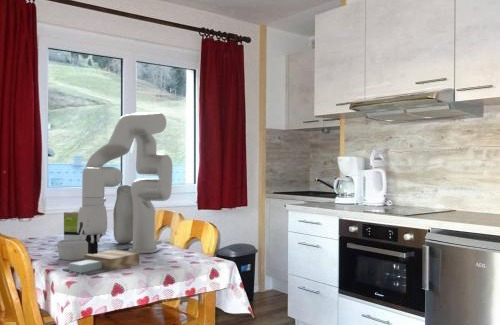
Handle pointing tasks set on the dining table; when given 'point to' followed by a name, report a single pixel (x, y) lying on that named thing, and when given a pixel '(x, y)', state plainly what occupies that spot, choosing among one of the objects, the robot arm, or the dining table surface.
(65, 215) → the tea box
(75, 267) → the grey-green rectangular block
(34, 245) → the dining table surface
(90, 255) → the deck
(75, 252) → the ramekin
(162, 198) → the robot arm
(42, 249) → the dining table surface
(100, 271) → the mat
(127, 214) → the grey bottle
